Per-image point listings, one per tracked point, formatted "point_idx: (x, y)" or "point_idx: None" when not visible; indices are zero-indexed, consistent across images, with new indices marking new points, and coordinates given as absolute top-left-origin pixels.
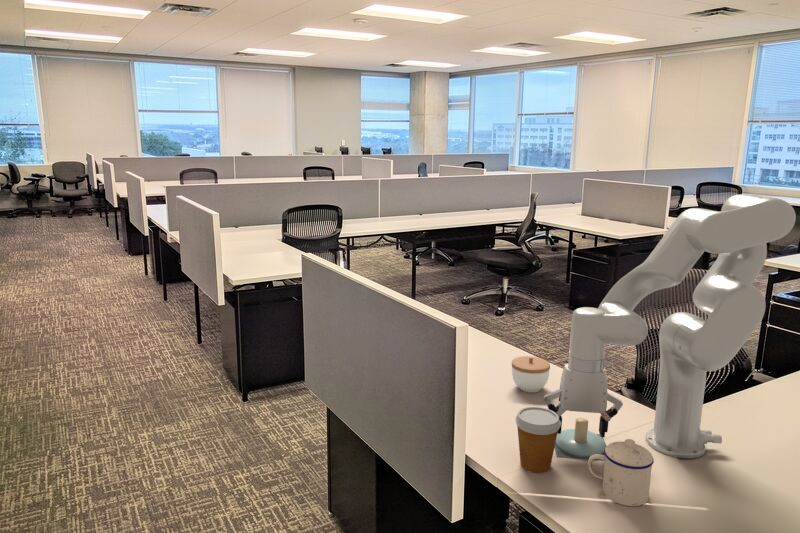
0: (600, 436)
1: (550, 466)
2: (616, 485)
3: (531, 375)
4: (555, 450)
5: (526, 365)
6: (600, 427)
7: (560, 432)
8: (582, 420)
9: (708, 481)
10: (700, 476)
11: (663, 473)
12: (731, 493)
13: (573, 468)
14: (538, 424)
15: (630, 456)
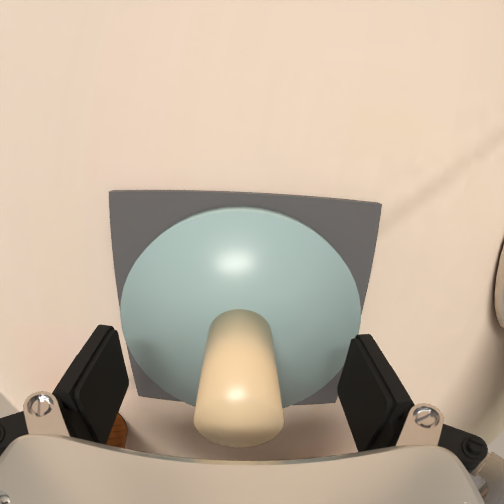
0: (369, 225)
1: (125, 439)
2: None
3: None
4: (131, 362)
5: None
6: (355, 388)
7: (124, 386)
8: (243, 422)
9: (490, 398)
10: (492, 387)
11: (437, 404)
12: (489, 416)
13: (193, 430)
14: None
15: None
